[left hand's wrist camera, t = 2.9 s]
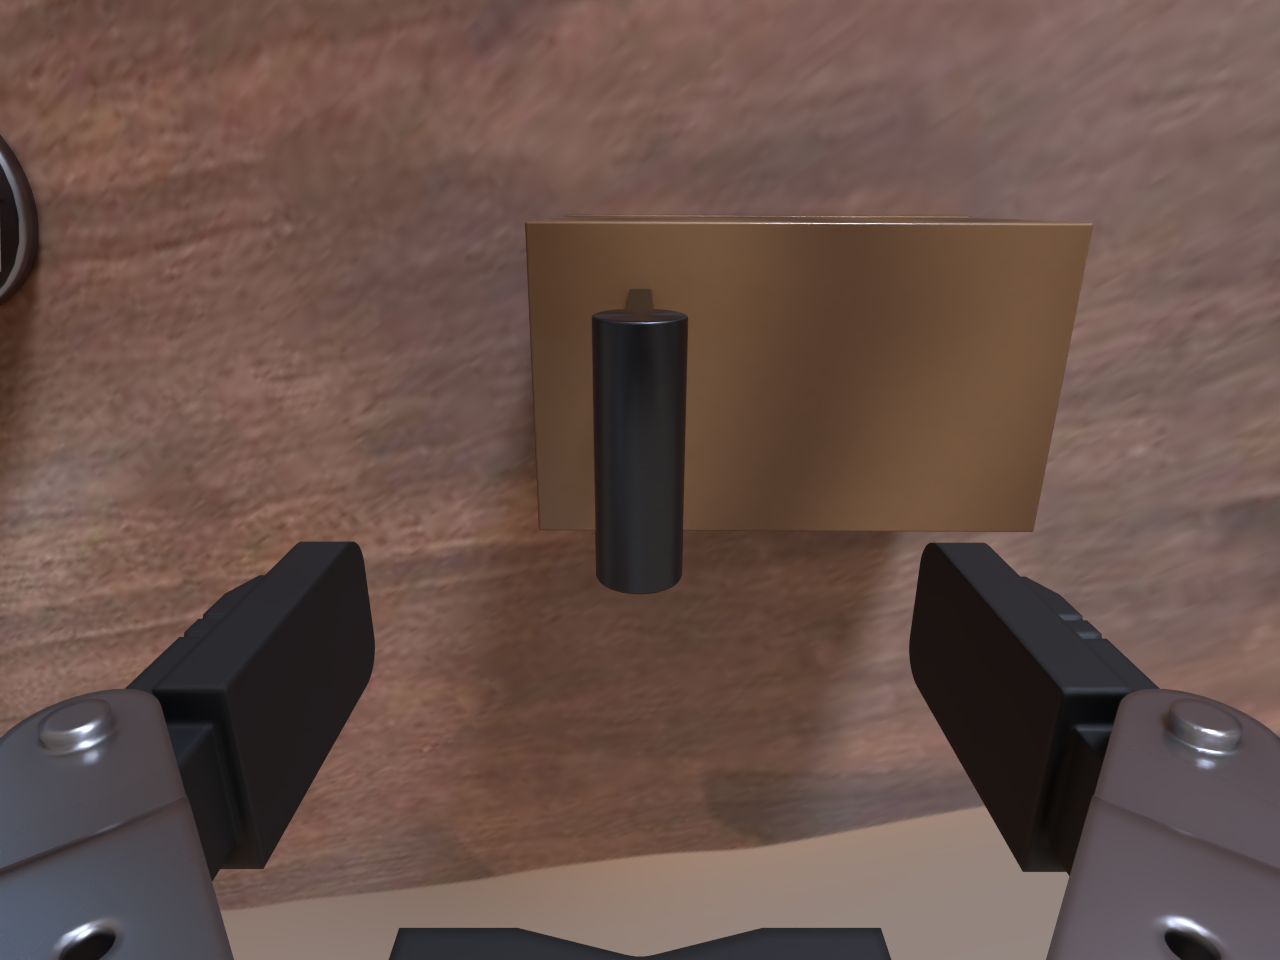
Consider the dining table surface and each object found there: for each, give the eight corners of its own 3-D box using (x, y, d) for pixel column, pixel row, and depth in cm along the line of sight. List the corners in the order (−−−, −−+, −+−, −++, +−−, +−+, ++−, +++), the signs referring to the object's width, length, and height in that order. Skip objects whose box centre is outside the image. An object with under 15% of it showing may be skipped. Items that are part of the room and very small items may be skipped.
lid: (542, 517, 27) (498, 659, 19) (529, 220, 24) (468, 231, 15) (1018, 519, 27) (1186, 662, 19) (1074, 222, 24) (1311, 234, 15)
